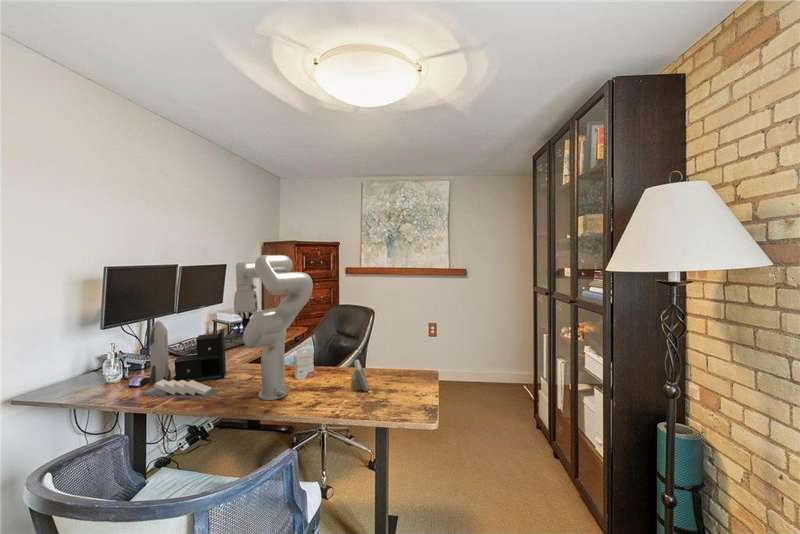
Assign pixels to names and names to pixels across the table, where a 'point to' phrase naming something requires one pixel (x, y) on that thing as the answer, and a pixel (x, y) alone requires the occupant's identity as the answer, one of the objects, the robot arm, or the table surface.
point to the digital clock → (359, 378)
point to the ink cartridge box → (304, 363)
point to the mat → (191, 395)
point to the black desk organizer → (203, 360)
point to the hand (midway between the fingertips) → (246, 326)
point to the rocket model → (159, 354)
